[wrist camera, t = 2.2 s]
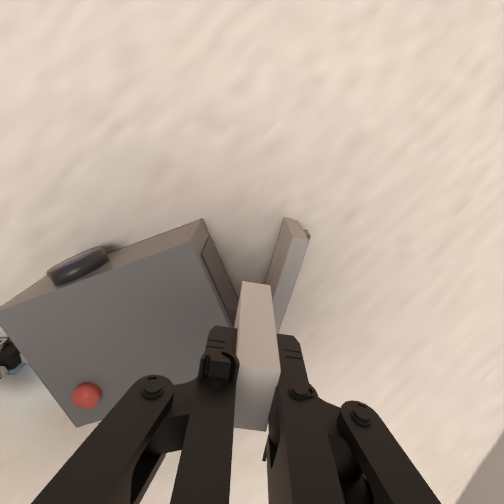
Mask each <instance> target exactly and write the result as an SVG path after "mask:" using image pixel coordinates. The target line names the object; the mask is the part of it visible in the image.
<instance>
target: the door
mask: <svg viewBox="0 0 504 504" xmlns="http://www.w3.org/2000/svg"><path fill="white" fill-rule="evenodd" d="M309 239H310V234H309V233H308V231H307V230H305V229H302V228H301V226H300V224H299V222H298V221H295V220H291V219H287V218H284V221H283V225H282V228H281V231H280V234H279V238H278V241H277V244H276V248H275V251H274V254H273V257H272V261H271V264H270V267H269V271H268V274H267V277H266V280H265V285H270V287H271V295H272V303H273V311H274V320H275V328H276V333H277V334H278V332H279V329H280V326H281V323H282V320H283V317H284V314H285V311H286V308H287V305H288V303H289V300H290V297H291V294H292V291H293V288H294V285H295V282H296V279H297V276H298V273H299V270H300V267H301V264H302V261H303V258H304V255H305V252H306V250H307V247H308V244H309Z"/></svg>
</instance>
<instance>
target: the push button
mask: <svg viewBox="0 0 504 504" xmlns="http://www.w3.org/2000/svg"><path fill="white" fill-rule="evenodd" d="M1 340H2V342H0V379H1V378H2V377H3V376H5V375H6V374H8V375H13V374H16V373H17V372H18V371H19V370H20V369H21V368H22V367H23V366H24V365H25V364H26V363H28V362H27V361H26V359H25V358H24V357H23V355H22V354H21V353H20V351H19V350H18V349H17V347H16V346H15V345H14V343H4V342H6V341H7V340H8V339H7V338H0V341H1Z"/></svg>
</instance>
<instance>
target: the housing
mask: <svg viewBox="0 0 504 504" xmlns="http://www.w3.org/2000/svg"><path fill="white" fill-rule="evenodd" d="M46 273H47V275H48V276H45V277H43V278H42V279H40V280H39V281H38V282H36V283H35V284H33V285H32V286H30V287H29V288H27V289H26V290H24V291H23V292H22V293H20V294H19V295H17V296H16V297H14V298H13V299H11V300H10V301H8V302H7V303H6V304H4V305H3V306H1V307H0V326H1V327H2V329H3V330H4V331H5V333H6V334H7V335H8V337H9V338H10V339H11V341H12V342H13V343H14V345H15V346H16V347H17V349H18V350H19V351H20V353H21V354H22V355H23V357H24V358H25V359H26V361H27V362H28V363H29V365H30V366H31V368H32V369H33V370H34V372H35V373H36V374H37V376H38V377H39V378H40V380H41V381H42V382H43V384H44V385H45V386H46V388H47V389H48V390H49V392H50V393H51V394H52V396H53V397H54V398H55V400H56V401H57V402H58V404H59V405H60V406H61V408H62V409H63V410H64V412H65V413H66V415H67V416H68V417H69V419H70V420H71V421H72V423H73V424H74V425H75V427H76V428H77V427H80V426H83V425H86V424H90V423H93V422H96V421H99V420H103V419H104V418H105V416H106V415H107V414H108V413H109V412H110V411H111V409H112V408H113V407H114V406H115V405H116V404H117V402H118V401H119V400H120V399H121V398H122V396H123V395H124V394H125V393H126V392H127V391H128V389H129V388H130V387H131V386H132V385H133V384H134V383H135V382H136V381H137V380H138V379H140V378H142V377H144V376H147V375H161V376H164V377H166V378H168V379H169V380H170V381H171V382H172V383H173V385H176V384H183V383H187V382H189V381H192V380H193V379H195V378H196V377H197V376H198V373H199V366H200V359H201V357H202V355H203V354H204V352H205V348H206V343H207V339H208V334H209V331H210V330H211V329H212V328H213V327H214V326H215V325H217V326H224V327H231V328H234V325H235V319H236V314H237V308H238V299H237V297H236V295H235V292H234V290H233V288H232V285H231V283H230V281H229V278H228V276H227V274H226V272H225V269H224V267H223V265H222V262H221V260H220V258H219V255H218V253H217V251H216V248H215V246H214V244H213V242H212V239H211V237H210V235H209V232H208V230H207V228H206V225H205V223H204V221H203V218H202V219H200V220H197V221H194V222H192V223H189V224H186V225H183V226H181V227H178V228H175V229H173V230H170V231H167V232H165V233H162V234H159V235H156V236H154V237H151V238H148V239H146V240H143V241H140V242H137V243H135V244H132V245H129V246H127V247H124V248H121V249H119V250H116V251H113V252H110V253H108V254H106V252H105V250H104V248H103V247H102V246H100V247H96V248H93V249H90V250H87V251H84V252H82V253H80V254H77V255H75V256H73V257H71V258H69V259H67V260H65V261H63V262H61V263H59V264H57V265H56V266H54V267H52V268H51V269H49V270H48V271H47V272H46Z"/></svg>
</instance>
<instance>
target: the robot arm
mask: <svg viewBox="0 0 504 504" xmlns="http://www.w3.org/2000/svg"><path fill="white" fill-rule="evenodd" d="M268 423H269V435H268V439H267V443H266V446H265V450H264V454H263V460H262V461H266V457H267V474H268V497H269V504H441V503H440V501H439V500H438V498H437V497H436V496H435V494H434V493H433V491H432V490H431V489H430V487H429V486H428V484H427V483H426V482H425V480H424V479H423V477H422V476H421V474H420V473H419V472H418V470H417V469H416V467H415V466H414V465H413V463H412V462H411V460H410V459H409V458H408V456H407V455H406V453H405V452H404V451H403V449H402V448H401V446H400V445H399V444H398V442H397V441H396V439H395V438H394V436H393V435H392V434H391V432H390V431H389V429H388V428H387V427H386V425H385V424H384V422H383V421H382V420H381V418H380V417H379V415H378V414H377V413H376V412H375V411H374V410H373V409H372V408H370V407H369V406H367V405H366V404H364V403H361V402H359V401H347V402H345V403H344V404H343V405H342V406H341V408H340V407H337V406H335V405H332V404H330V403H327V402H325V401H323V400H322V399H320V398H319V397H318V394H317V392H316V390H315V389H314V388H313V387H312V386H311V385H310V384H309V382H308V378H307V373H306V369H305V365H304V360H303V356H302V353H301V347H300V343H299V342H298V341H297V340H296V338H295V337H294V336H291V335H284V334H277V333H276V328H275V320H274V311H273V303H272V295H271V287H270V285H265V284H259V283H252V282H246V281H242V285H241V291H240V297H239V302H238V308H237V314H236V319H235V325H234V328H231V327H224V326H217V325H215V326H214V327H213V328H212V329H211V330H210V331H209V334H208V339H207V343H206V348H205V352H204V354H203V355H202V357H201V359H200V366H199V373H198V376H197V377H196V378H195V379H193V380H192V381H189V382H187V383H183V384H176V385H173V383H172V382H171V381H170V380H169V379H168V378H166V377H164V376H161V375H147V376H144V377H142V378H140V379H138V380H137V381H136V382H135V383H134V384H133V385H132V386H131V387H130V388H129V389H128V391H127V392H126V393H125V394H124V395H123V396H122V398H121V399H120V400H119V401H118V402H117V404H116V405H115V406H114V407H113V408H112V409H111V411H110V412H109V413H108V414H107V415H106V416H105V418H104V419H103V420H102V421H101V422H100V423H99V425H98V426H97V427H96V428H95V429H94V430H93V432H92V433H91V434H90V435H89V436H88V437H87V439H86V440H85V441H84V442H83V443H82V444H81V446H80V447H79V448H78V449H77V450H76V451H75V453H74V454H73V455H72V456H71V457H70V459H69V460H68V461H67V462H66V463H65V464H64V466H63V467H62V468H61V469H60V470H59V471H58V473H57V474H56V475H55V476H54V477H53V478H52V480H51V481H50V482H49V483H48V484H47V485H46V487H45V488H44V489H43V490H42V491H41V492H40V494H39V495H38V496H37V497H36V498H35V499H34V501H33V502H32V503H31V504H139V503H140V502H141V500H142V498H143V496H144V494H145V492H146V491H147V489H148V487H149V485H150V483H151V481H152V480H153V478H154V476H155V474H156V472H157V470H158V469H159V467H160V465H161V463H162V461H163V459H164V458H165V455H166V453H168V452H173V451H178V450H182V452H181V456H180V461H179V465H178V470H177V474H176V479H175V483H174V488H173V492H172V497H171V501H170V504H229V494H230V478H231V461H232V445H233V428H234V427H235V428H243V429H250V430H258V431H266V429H267V425H268Z"/></svg>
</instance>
